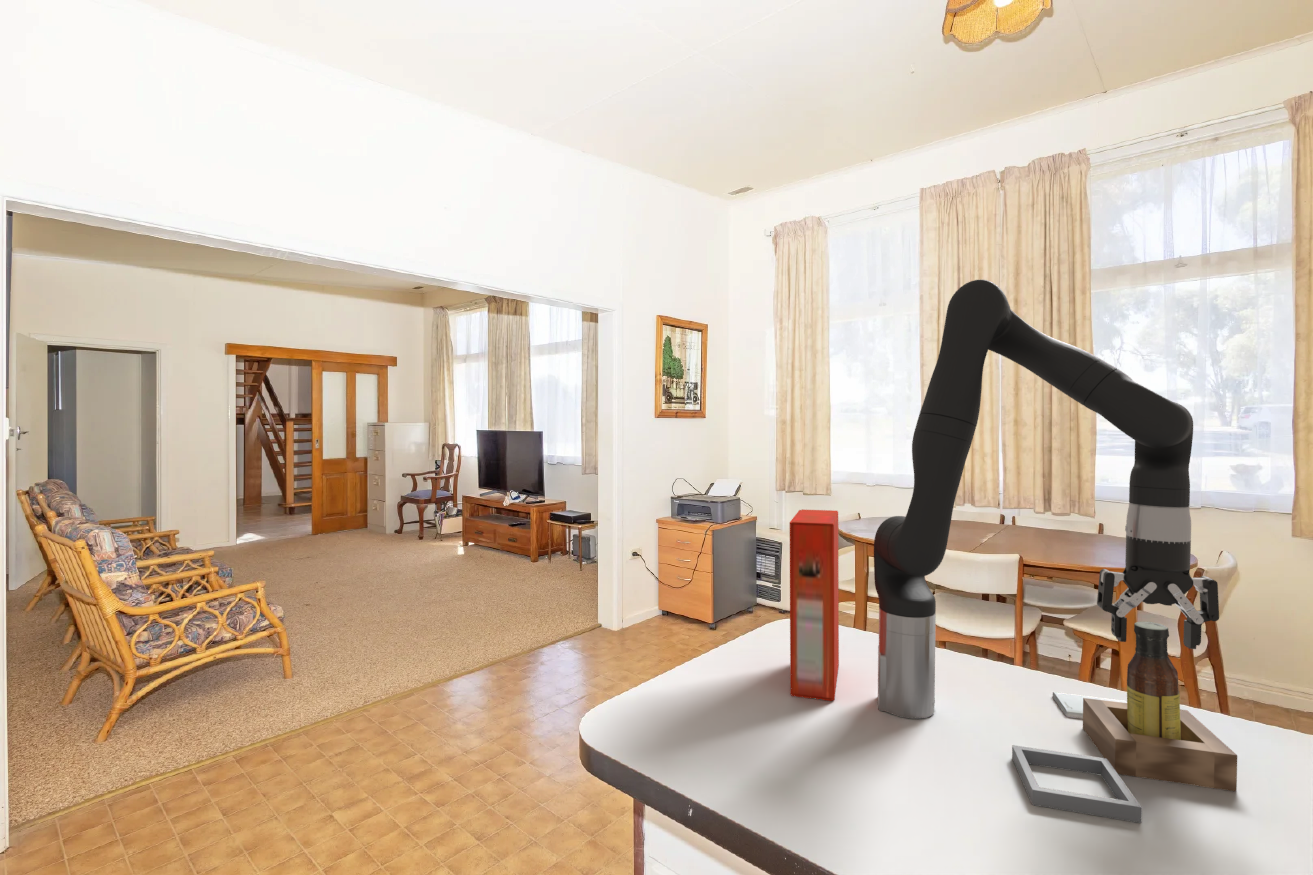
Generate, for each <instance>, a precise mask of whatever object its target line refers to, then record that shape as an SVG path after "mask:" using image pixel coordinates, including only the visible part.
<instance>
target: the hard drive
mask: <svg viewBox="0 0 1313 875" xmlns="http://www.w3.org/2000/svg"><path fill="white" fill-rule="evenodd" d="M1052 698H1053V700H1054V701H1055V703H1056V704H1057V706H1058V707H1059V708H1060V710H1061V712H1062V713H1063V714H1064V715H1065V717H1066V718H1074V719H1082V720H1083V698H1088V699H1097V700H1105V701H1113V702H1122V703H1127V700H1123V699H1122V700H1121V699H1114V698H1113V699H1112V698H1105V697H1096V696H1091V695H1090V696H1088V695H1080V694H1074V693H1073V694H1072V693H1063V692H1054V691H1053V692H1052Z"/></svg>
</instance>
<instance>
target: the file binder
mask: <svg viewBox="0 0 1313 875" xmlns="http://www.w3.org/2000/svg"><path fill="white" fill-rule="evenodd" d="M839 580H840V579H839V511H838V510H831V509H830V510H826V509H799V510H798V511H797V512H796V513H795V515H794V516H793V517H792V518H791V520H790V521H789V633H790V634H789V640H790V641H789V644H790V645H789V651H790V652H789V653H790V654H789V657H790V658H789V660H790V663H789V665H790V667H789V671H790V672H789V673H790V675H789V676H790V686H789V687H790V690H789V691H790V695H791V697H795V696H796V698H803V697H804V698H805V699H811V698H816V699H815V700H819V699H822V700H821V701H827V702H828V701H829V702H832V701H835V698H836V691H837V682H838V674H839V668H840V667H839V666H840V650H839V648H840V647H839V645H840V644H839V643H840V642H839V641H840V635H839V634H840V633H839V632H840V631H839V629H840V628H839V626H840V625H839V624H840V623H839V622H840V621H839V619H840V618H839V613H840V610H839V608H840V607H839V602H840V600H839V598H840V597H839V594H840V593H839V589H840V588H839V586H840V585H839Z"/></svg>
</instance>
